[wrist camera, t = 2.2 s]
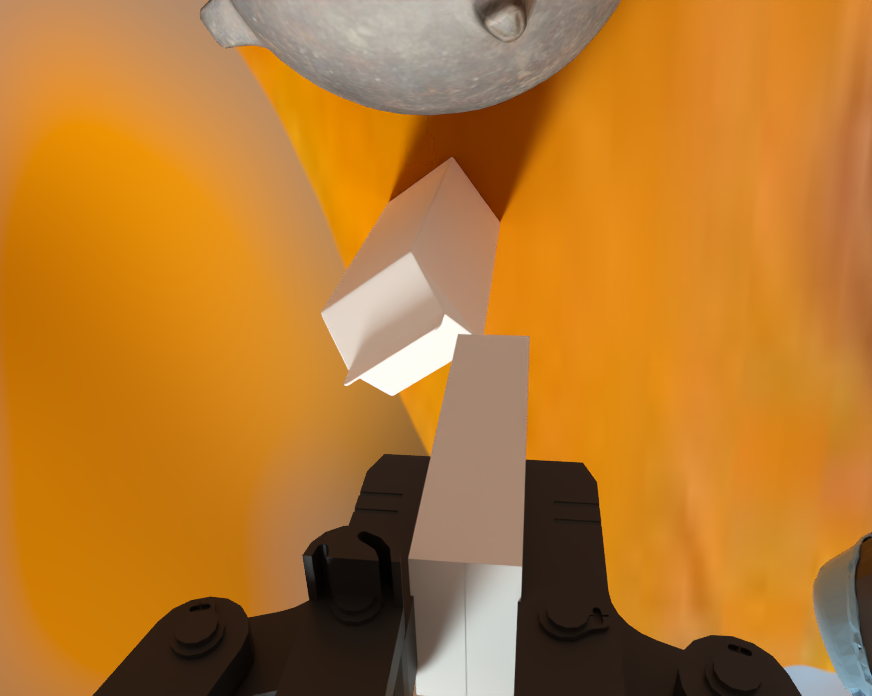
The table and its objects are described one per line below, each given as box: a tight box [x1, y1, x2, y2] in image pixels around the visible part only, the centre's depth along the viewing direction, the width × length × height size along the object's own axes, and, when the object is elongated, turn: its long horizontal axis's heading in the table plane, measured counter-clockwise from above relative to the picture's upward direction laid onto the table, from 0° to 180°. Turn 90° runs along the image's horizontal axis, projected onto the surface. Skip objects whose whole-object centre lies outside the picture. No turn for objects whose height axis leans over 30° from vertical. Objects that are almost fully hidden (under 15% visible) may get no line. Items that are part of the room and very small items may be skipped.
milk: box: [321, 157, 500, 396], centre depth 44 cm, size 6×6×22 cm
